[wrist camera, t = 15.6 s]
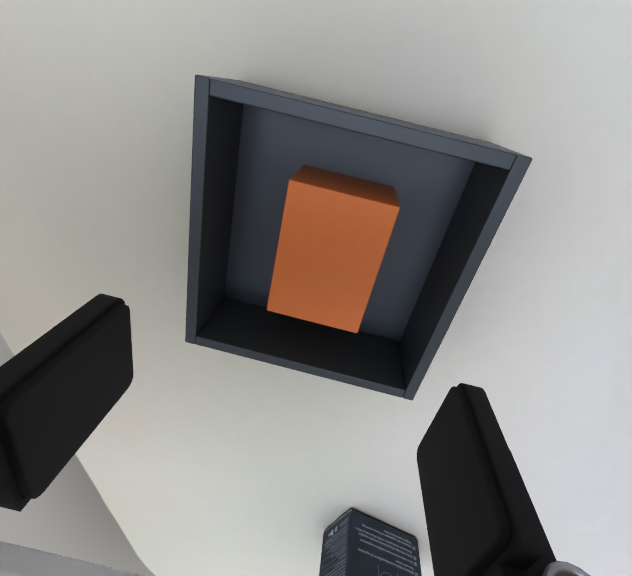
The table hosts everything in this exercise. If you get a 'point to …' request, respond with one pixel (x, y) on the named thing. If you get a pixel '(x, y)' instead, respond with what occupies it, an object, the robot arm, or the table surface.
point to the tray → (266, 217)
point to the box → (367, 549)
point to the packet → (331, 247)
